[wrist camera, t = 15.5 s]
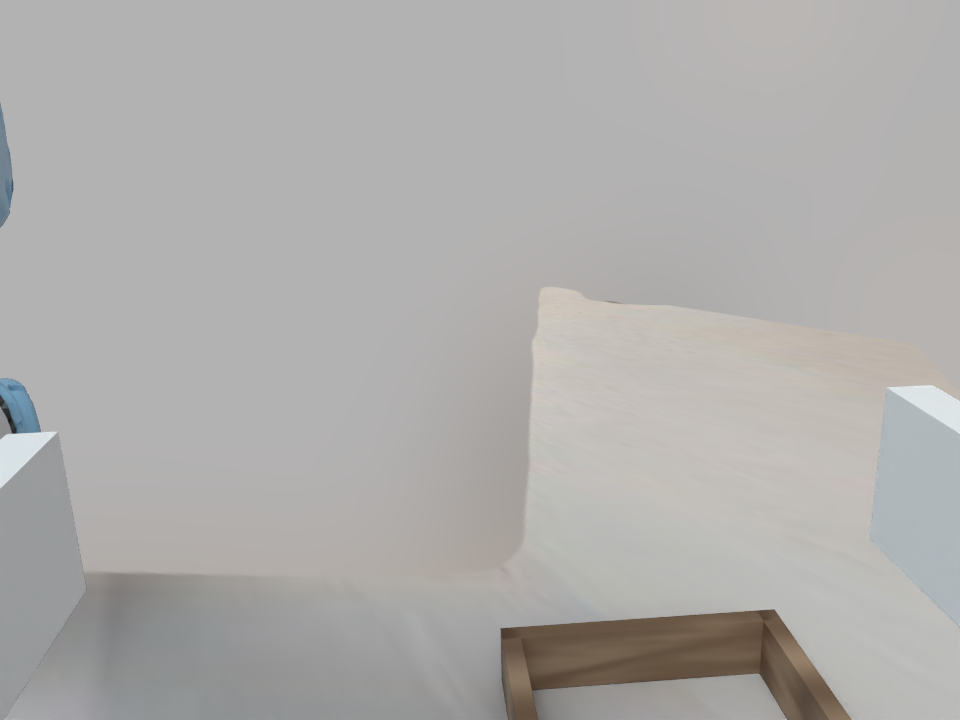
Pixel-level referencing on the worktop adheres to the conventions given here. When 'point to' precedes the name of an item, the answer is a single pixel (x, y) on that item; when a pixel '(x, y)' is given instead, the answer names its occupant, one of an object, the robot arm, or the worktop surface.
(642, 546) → the worktop surface
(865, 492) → the worktop surface
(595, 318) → the worktop surface
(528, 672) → the frame
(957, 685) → the worktop surface
